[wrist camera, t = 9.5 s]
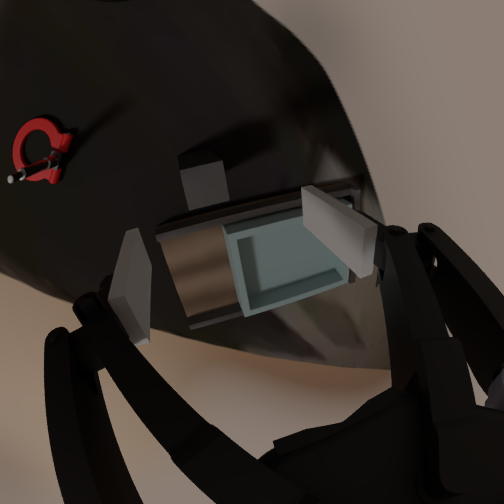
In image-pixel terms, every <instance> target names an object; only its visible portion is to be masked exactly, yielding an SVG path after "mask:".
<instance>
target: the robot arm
mask: <svg viewBox="0 0 504 504" xmlns="http://www.w3.org/2000/svg"><path fill="white" fill-rule="evenodd" d="M98 1H103V2H121V1H127V0H98ZM301 193H302V207H303V224H304V226H305V227H306V228H307V229H308V230H309V231H310V232H311V233H312V234H313V235H315V236H316V237H317V238H318V239H319V240H320V241H321V242H322V243H323V244H324V245H326V246H327V247H328V248H329V249H330V250H331V251H332V252H333V253H334V254H335V255H336V256H337V257H339V258H340V259H341V260H342V261H343V262H344V263H345V264H346V265H347V266H348V267H349V268H350V269H351V270H352V271H353V272H354V273H355V274H356V275H357V276H358V277H360V278H363V277H365V276H368V275H371V274H372V272H373V264H375V265H376V266H377V267H378V274H377V281H376V287H378V284H379V285H380V291H381V296H382V302H383V308H384V315H385V322H386V329H387V337H388V346H389V355H390V366H391V379H392V387H391V388H389V389H387V390H386V391H384V392H382V393H380V394H379V395H377V396H375V397H373V398H372V399H370V400H368V401H367V402H366V403H365V404H363V405H362V406H361V407H360V408H359V409H358V410H357V411H355V412H354V413H353V414H352V415H351V416H349V417H348V418H347V419H346V420H344V421H343V422H341V423H336V424H331V425H326V426H321V427H316V428H309V429H305V430H302V431H300V432H297V433H294V434H291V435H289V436H286V437H283V438H280V439H277V440H274V441H273V444H274V448H273V449H271V450H270V451H268V452H267V453H265V454H264V455H263V456H261V457H260V458H259V459H258V460H257V459H256V458H254V457H253V456H251V455H250V454H249V453H248V452H246V451H245V450H244V449H243V448H241V447H240V446H239V445H238V444H236V443H235V442H234V441H232V440H231V439H230V438H229V437H228V436H226V435H225V434H224V433H223V432H222V431H220V430H219V429H218V428H217V427H215V426H214V425H211V424H209V423H208V422H207V421H206V420H205V419H204V418H202V417H201V416H200V415H199V414H198V413H197V412H196V411H195V410H194V409H193V408H192V407H191V406H190V405H189V404H188V403H187V402H186V401H185V400H184V399H183V398H181V396H180V395H178V393H177V392H176V391H175V390H174V389H173V388H172V387H171V386H170V385H169V384H168V383H167V382H166V381H165V380H164V379H163V378H162V376H161V375H160V374H159V373H158V372H157V371H156V370H155V369H154V368H153V367H152V365H151V364H150V363H149V362H148V361H147V360H146V359H145V357H144V356H143V355H142V354H141V353H140V351H138V349H137V348H136V347H135V346H138V345H142V344H147V343H150V292H151V271H152V265H151V263H150V260H149V257H148V255H147V252H146V249H145V247H144V244H143V241H142V238H141V235H140V232H139V229H138V228H135V229H132V230H129V231H126V234H125V237H124V240H123V243H122V247H121V250H120V254H119V257H118V261H117V264H116V268H115V272H114V274H111V275H108V276H106V277H105V278H104V279H103V281H102V282H101V284H100V287H99V291H98V293H97V292H88V293H85V294H83V295H82V296H80V297H79V298H78V299H77V300H76V301H75V302H74V304H73V307H72V308H73V312H74V313H75V315H76V316H77V318H78V320H79V321H80V323H81V324H82V327H80V328H79V329H77V330H75V331H73V332H71V333H69V332H68V330H67V329H66V328H65V327H58V328H55V329H54V330H52V331H51V332H50V333H49V334H48V336H47V337H46V339H45V346H44V388H45V405H46V417H47V425H48V433H49V440H50V446H51V452H52V457H53V462H54V467H55V471H56V475H57V479H58V483H59V487H60V491H61V494H62V497H63V501H64V504H143V502H142V500H141V498H140V496H139V494H138V491H137V489H136V487H135V485H134V483H133V481H132V478H131V476H130V474H129V471H128V469H127V466H126V464H125V462H124V459H123V457H122V454H121V451H120V448H119V446H118V443H117V440H116V437H115V434H114V431H113V428H112V425H111V422H110V418H109V415H108V412H107V408H106V405H105V401H104V397H103V393H102V389H101V385H100V380H99V376H98V371H99V370H101V369H103V368H106V369H107V371H108V373H109V374H110V376H111V377H112V379H113V381H114V382H115V384H116V385H117V387H118V388H119V390H120V391H121V392H122V394H123V396H124V397H125V399H126V400H127V401H128V403H129V404H130V406H131V407H132V408H133V410H134V411H135V413H136V414H137V415H138V417H139V418H140V419H141V421H142V422H143V423H144V424H145V426H146V427H147V428H148V430H149V431H150V432H151V433H152V434H153V436H154V437H155V438H156V439H157V440H158V442H159V443H160V444H161V445H162V446H163V447H164V449H165V450H166V451H167V452H168V453H169V455H170V456H171V459H172V461H173V462H174V463H175V464H176V466H177V467H178V468H179V469H180V470H181V471H182V472H183V473H184V474H185V475H186V476H187V477H188V478H189V479H190V480H191V481H192V482H193V483H194V484H195V485H196V486H197V487H198V488H199V489H200V490H201V491H202V492H204V493H205V494H206V495H207V496H208V497H209V498H210V499H211V500H213V501H214V502H215V503H216V504H504V296H503V294H502V293H501V292H500V291H499V289H498V288H497V287H496V286H495V285H494V283H493V282H492V281H491V280H490V279H489V278H488V277H487V275H486V274H485V273H484V272H483V271H482V270H481V269H480V268H479V267H478V265H477V264H476V263H475V262H474V261H473V260H472V259H471V258H470V257H469V256H468V255H467V254H466V253H465V252H464V251H463V250H462V249H461V248H460V247H459V246H458V245H457V244H456V243H455V242H454V241H453V240H452V239H451V238H450V237H449V236H448V235H447V234H446V233H444V232H443V231H442V230H441V229H440V228H439V227H437V226H436V225H434V224H432V223H421V224H419V226H418V232H415V233H408V231H407V230H406V229H404V228H403V227H400V226H394V225H389V226H385V225H383V224H381V223H380V222H378V221H377V220H375V219H373V218H372V217H370V216H369V215H367V214H365V213H364V212H362V211H359V210H355V209H354V210H353V209H352V208H350V207H348V206H347V205H345V204H343V203H342V202H340V201H338V200H337V199H335V198H333V197H332V196H330V195H328V194H326V193H325V192H323V191H321V190H319V189H318V188H316V187H314V186H312V185H310V186H304V187H301ZM435 257H436V259H437V267H436V266H435V265H434V262H435ZM445 324H446V325H447V327H448V329H449V330H450V332H451V334H452V335H453V337H449V335H448V332H447V328H446V325H445ZM129 338H130V339H129ZM131 341H132V342H131ZM466 361H467V362H466ZM467 363H468V365H469V367H470V369H471V370H472V373H473V375H474V376H475V378H476V380H477V382H478V383H479V385H480V386H481V388H482V389H483V391H484V392H485V393H486V395H487V396H488V399H487V400H486V401H485V407H484V406H479V405H476V402H475V396H474V392H473V387H472V382H471V378H470V374H469V370H468V366H467Z"/></svg>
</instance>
